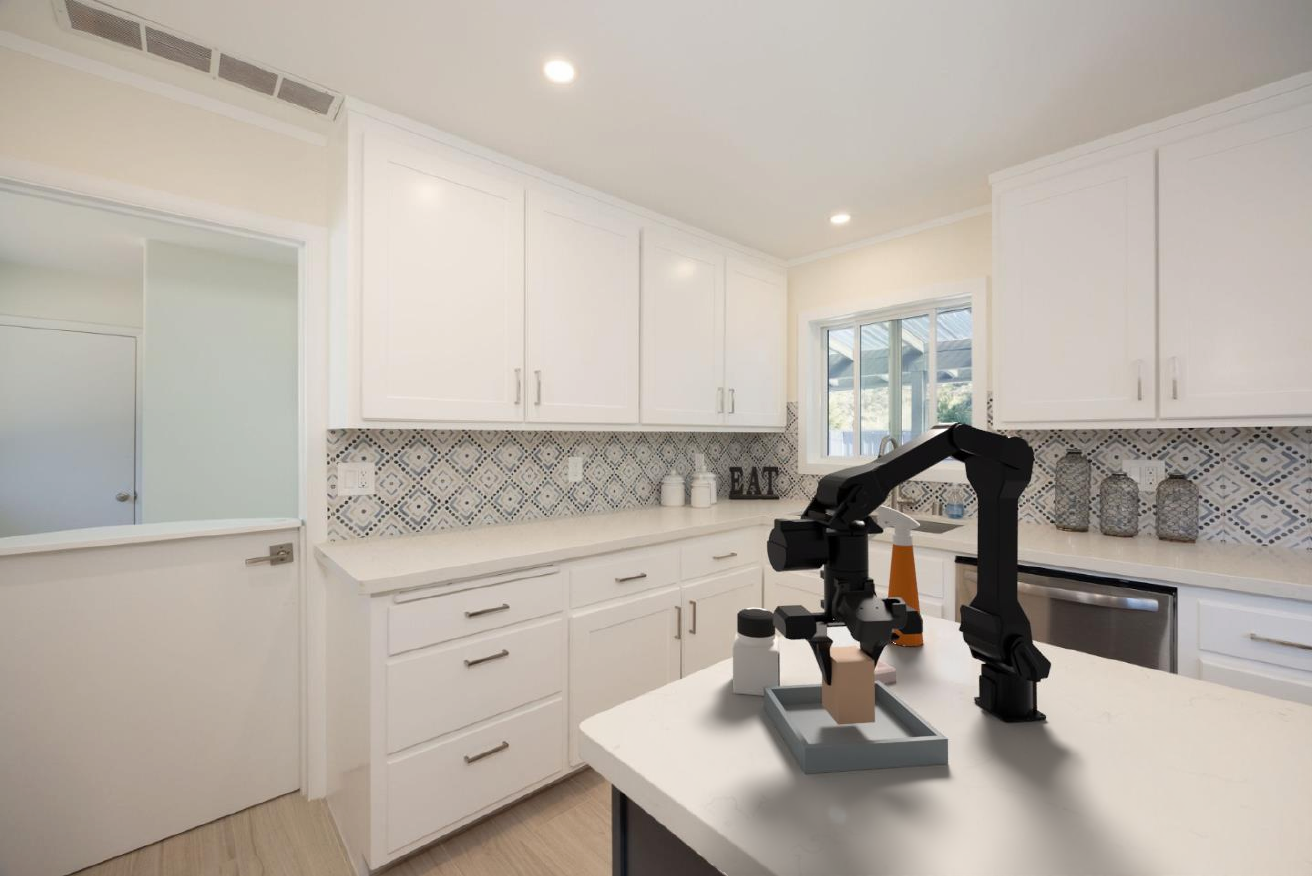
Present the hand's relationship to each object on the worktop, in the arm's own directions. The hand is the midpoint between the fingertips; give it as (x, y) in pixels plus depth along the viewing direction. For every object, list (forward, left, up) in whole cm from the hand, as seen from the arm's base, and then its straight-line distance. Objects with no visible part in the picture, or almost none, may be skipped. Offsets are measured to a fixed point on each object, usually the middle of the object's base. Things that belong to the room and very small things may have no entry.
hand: (847, 683), depth 72 cm
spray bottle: (-25, -32, -7) cm, 41 cm away
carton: (0, 0, -4) cm, 4 cm away
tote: (0, 0, -7) cm, 7 cm away
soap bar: (-12, -18, -7) cm, 23 cm away
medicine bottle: (+8, -15, -7) cm, 18 cm away
